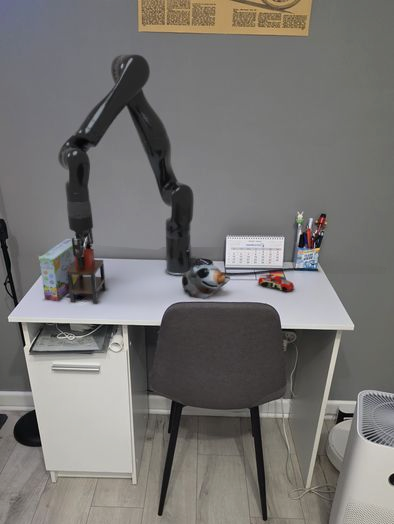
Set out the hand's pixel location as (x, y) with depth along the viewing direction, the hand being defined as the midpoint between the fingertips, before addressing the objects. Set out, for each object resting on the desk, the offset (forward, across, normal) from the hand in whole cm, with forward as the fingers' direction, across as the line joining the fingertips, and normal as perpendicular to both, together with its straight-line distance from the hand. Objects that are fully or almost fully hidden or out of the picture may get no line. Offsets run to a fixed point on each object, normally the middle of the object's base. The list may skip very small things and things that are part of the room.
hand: (85, 262), depth 163 cm
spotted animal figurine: (+12, +7, -40) cm, 42 cm away
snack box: (+12, +5, +10) cm, 17 cm away
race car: (+12, +15, -65) cm, 68 cm away
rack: (+12, 0, 0) cm, 12 cm away
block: (+1, 0, 0) cm, 1 cm away
